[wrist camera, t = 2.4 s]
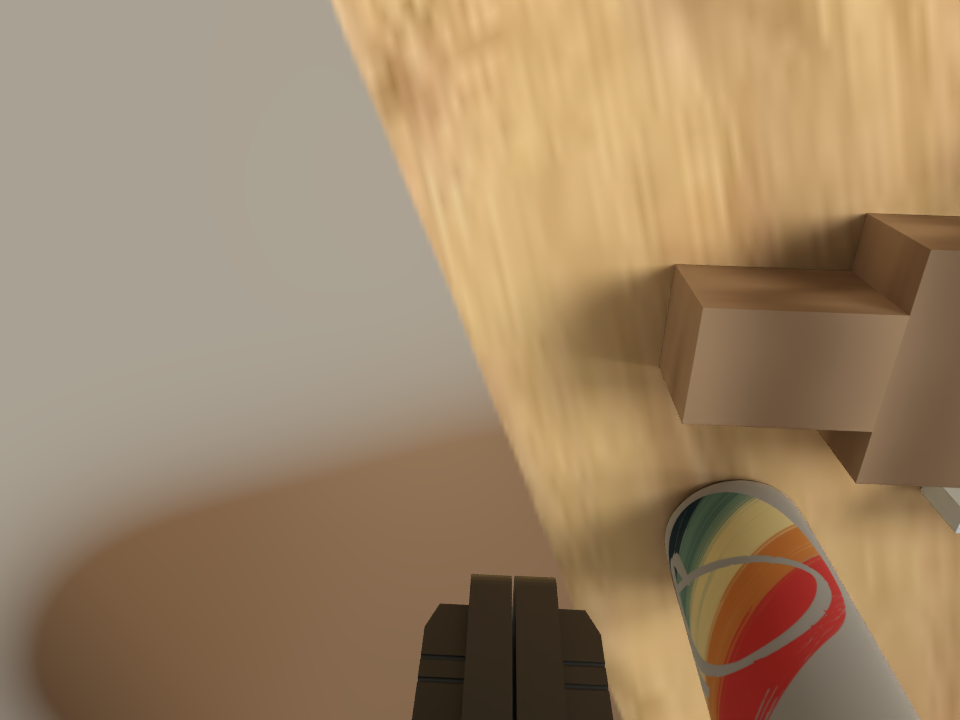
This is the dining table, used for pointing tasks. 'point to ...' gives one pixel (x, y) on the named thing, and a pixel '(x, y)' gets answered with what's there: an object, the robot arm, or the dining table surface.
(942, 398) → the t block
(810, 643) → the lotion bottle
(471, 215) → the dining table surface
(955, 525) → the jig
